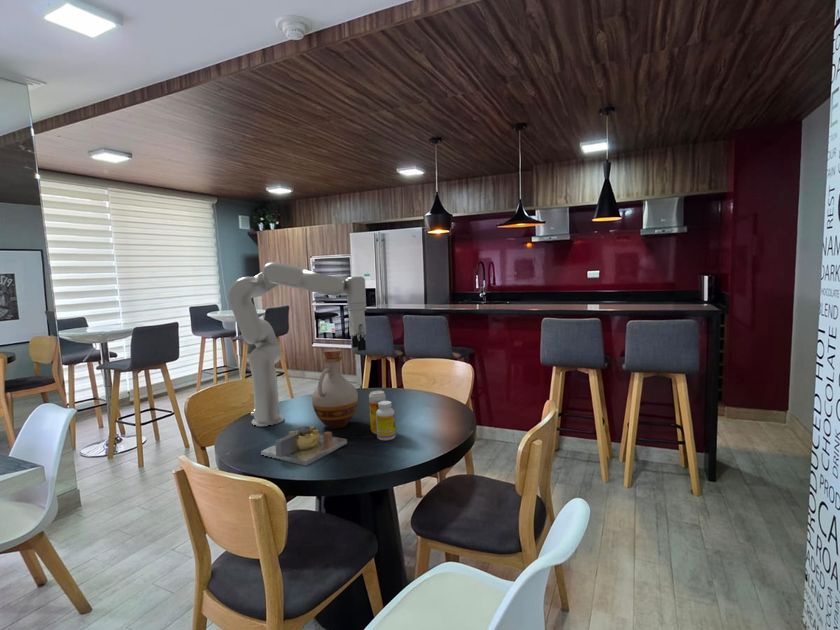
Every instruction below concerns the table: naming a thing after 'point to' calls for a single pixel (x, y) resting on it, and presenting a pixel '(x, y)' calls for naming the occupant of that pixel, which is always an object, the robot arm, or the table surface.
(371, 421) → the orange pill bottle
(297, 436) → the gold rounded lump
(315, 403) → the jug
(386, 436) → the supplement bottle
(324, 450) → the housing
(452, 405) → the table surface
